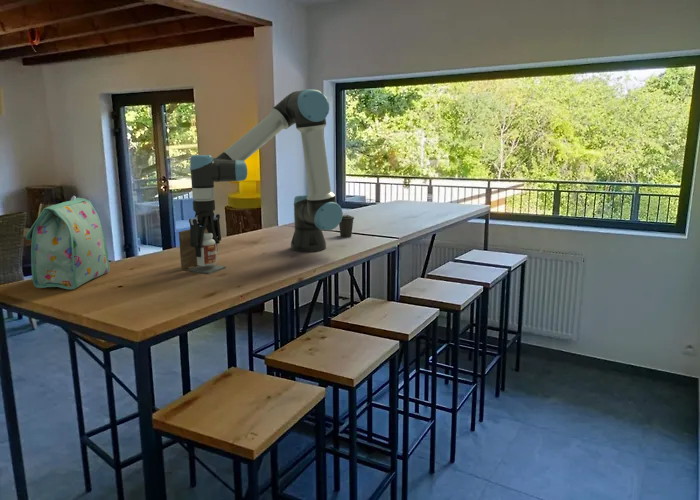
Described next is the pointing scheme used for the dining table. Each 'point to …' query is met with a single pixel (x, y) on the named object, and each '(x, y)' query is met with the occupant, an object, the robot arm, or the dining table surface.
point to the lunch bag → (67, 245)
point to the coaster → (207, 269)
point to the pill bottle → (209, 249)
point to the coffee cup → (346, 226)
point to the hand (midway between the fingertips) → (207, 263)
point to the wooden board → (187, 251)
